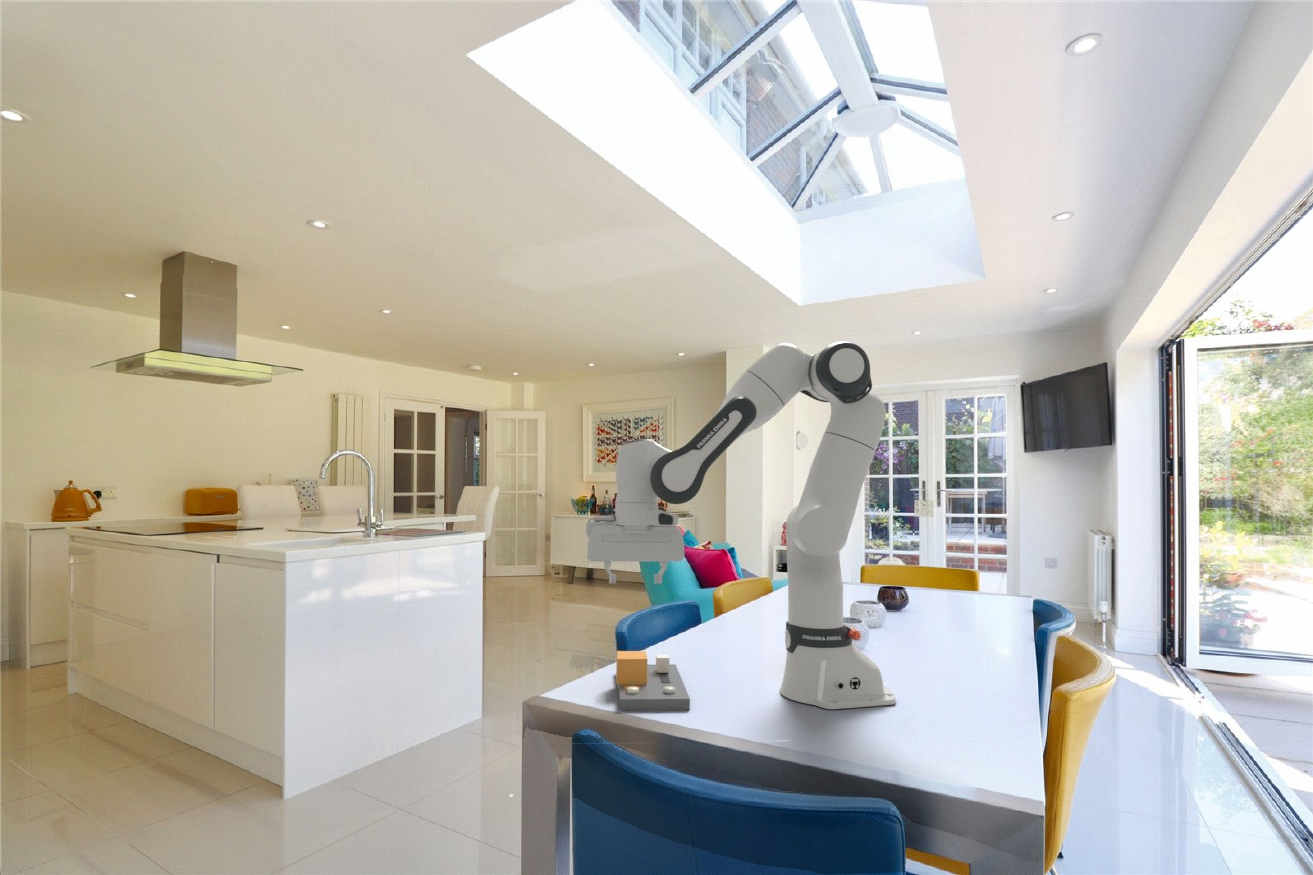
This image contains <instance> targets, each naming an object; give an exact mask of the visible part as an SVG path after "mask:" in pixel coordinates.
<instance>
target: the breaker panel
mask: <svg viewBox="0 0 1313 875" xmlns="http://www.w3.org/2000/svg"><path fill="white" fill-rule="evenodd" d="M617 691H618V702H619V711H690V710H691V709H690V708H691V698H690V695H689V694H688V691H687V689H686V686H685V684H684V681H683V679H682V677H681V674H680V672H679V669H678V666H677V665H676V663H674V664H669V673H657V671H656V664H647V685H617Z"/></svg>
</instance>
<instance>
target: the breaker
mask: <svg viewBox="0 0 1313 875" xmlns="http://www.w3.org/2000/svg"><path fill="white" fill-rule="evenodd" d="M655 665H656V671H657V673H669V665H670V656H669V654H666V653H665V654H658V653H657V654H655Z"/></svg>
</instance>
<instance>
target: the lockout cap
mask: <svg viewBox="0 0 1313 875" xmlns="http://www.w3.org/2000/svg"><path fill="white" fill-rule="evenodd" d="M647 665H648V656H647V652H646V650H616V667H615V668H616V670H615V672H616V673H615V674H616V675H615V676H616V678H615V679H616V685H617V686H618V685H647Z"/></svg>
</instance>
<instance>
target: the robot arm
mask: <svg viewBox="0 0 1313 875" xmlns="http://www.w3.org/2000/svg"><path fill="white" fill-rule="evenodd" d="M871 377H872V376H871V364H870V359H869V357H868V354H867V353H866V351H865V350H864V349H863V348H862V347H861V346H859V345H858V344H855V343H853V342H849V341H838V342H834V343H831V344H829V345H827V346H826V347H824V348H822V349H821V350H820V351H818V352H817V353H814V354H807V353H805V352H804V351H803V350H802V349H801V348H799V347H798V346H796V345H794V344H792V343H786V342H784V343H783V342H781V343H779V344H777V345H775V346H774V347H772V348H771V349H769V350H768V351H767V352H765V353H764V354H763V355H762V356H760V357H759V358H758V359H756V361H754V362H753V363H752V364H751V365H750V366H749V367H748V368H746V370H745V371H744V372H743V373H742V374H741V375H740V377H738V379H737V380H736V382H734V384H733V385H732V387H731V388H730V389H729V391H728V392H727V394H726V396H725V398H724V399H723V401H722V403H721V404H720V407H719V409H718V410H717V412H716V414H714V416H713V417H712V418H711V419H710V420H709V421H708V423H706V424H705V425H704V426H703V427H702V428H701V429H700V430H699V431H698V432H697V433H696V434H695V435H694V437H693V438H691V439H690V440H689V441H688V442H687V443H686V444H685V445H684V446H682V447H680V448H678V449H675V450H673V451H672V450H670V449H668V448H666V447H664V446H662V445H661V444H659V443H658V442H657V441H655V440H654V439H652V438H639V439H634V440H630V441H627V442H625V443H623V444H622V445H621V446H620V447H619V449H618V451H617V452H618V453H617V457H616V466H615V468H616V469H615V484H616V490H617V492H616V493H617V494H616V497H615V501H614V502H615V504H614V505H615V506H614V508H615V509H614V516H613V515H612V516H610V515H607V516H599V515H596V516H593V517H592V518H589V520H587V522H586V524H585V534H586V536H587V537H588V543H587V550H586V552H587V554H586V555H587V556H586V558H587V559H588V560H589V561H590V562H603V567H604V569H605V571H606V573H607V575H608V576H609V578H608V580H609V581H608V583H609V585H612V584H613V585H615V584H617V574H616V573H615V574H613V572H612V571H611V569H610V568H611V567H612V562H659V566H660V567H661V568H660V570H659V572H658V573H657V574H653V576H654V579H653V580H654V581H653V583H654V585H655V584H656V585H657V584H659V585H660V584H662V583H663V575H664V573H665V572H666V570H667V569H668V562H675V563H676V562H682V561H683V560H684V558H685V543H684V537H683V533H682V530H681V529H680V528H679V527H678V524H679V516H677V515H676V514H674V513H671V512H668V511H666V510H664V509H659V508H658V500H659V499H660V500H661V501H663V502H666V503H667V504H671V505H681V504H685V503H688V502H689V501H691V500H693V498H694V497H696V496H697V494H698V493H699V491H700V489H701V487H702V485H703V482H704V480H705V476H706V474H707V472H708V470H709V469H710V468H711V466H712V465H713V464H714V463H715V462H716V460H718V459H719V458H720V457H721V456H722V455H723V453H724V452H725V451H726V450H727V449H729V447H730V446H731V445H732V444H733V443H734V442H736V440H738V439H739V438H740V437H742V436H743V435H744V434H747V433H748V432H751V431H754V430H757V429H758V428H760V427H762V426H763V425H765V424H766V423H768V422H769V421H771V419H772V418H774V417H775V416H776V415H777V414H778V413H779V412H780V411H782V410H783V408H785V406H786V405H788V403H789V402H790V401H791V400H793V398H794V397H795V396H796V395H797V394H799V393H802V394H804V395H805V396H808V397H810V399H811V398H812V399H813V400H815V401H819V402H822V403H829V404H830V416H829V422H828V423H827V425H826V427H825V430H824V433H823V435H822V437H821V440H820V443H819V446H818V448H817V450H816V453H815V455H814V457H813V460H812V463H811V464H810V468H809V471H808V474H807V478H806V481H805V485H804V488H803V491H802V495H801V497H800V500H799V503H798V504H797V505H796V506H795V507H794V508H792V510H790V512H789V514H788V516H787V518H786V520H785V521H786V522H785V540H786V541H785V544H786V545H785V546H786V547H785V549H786V568H787V621H786V622H785V632H784V635H785V636H784V637H785V638H784V643H785V649H786V656H785V657H786V658H785V666H784V672H783V677H782V681H781V684H780V688H779V693H780V695H782V696H783V697H785V698H787V699H789V700H792V701H795V702H798V703H803V704H807V705H812V706H817V707H820V708H822V709H827V710H841V709H853V708H855V709H856V708H863V707H864V708H866V707H878V706H879V707H880V706H889V705H895V704H896V702H897V701H896V696H895V693H894V692H893V691H891V690H890V689H889V688H887V687H886V686H884V681H883V676H882V673H881V669H880V668H879V666H878V665H877V663H876V662H874V661H873V660H872V659H871V658H870V657H869V656H867V655H866V654H865V653H864V652H863V651H862V650H861V649H859V648H857V646H855V645H854V644H853V641H856V642H857V641H860V640H861V639H862V633H861V632H860V631H859V630H857V629H855V628H850V627H848V626H847V625H845V624H844V584H843V583H844V582H843V578H842V570H841V569H842V568H841V560H840V551H842V549H843V548H844V547H845V546H846V543H847V540H848V537H849V533H850V530H851V527H852V524H853V520H854V517H855V514H856V510H857V507H858V503H859V499H860V495H861V491H862V488H863V486H864V483H865V480H866V478H867V474H868V472H869V469H870V466H871V465H872V463H873V459H874V456H875V454H876V452H877V450H878V449H877V448H878V447H879V443H880V441H881V438H882V434H883V430H884V425H885V419H886V414H887V408H886V405H885V403H884V402H883V400H882V399H881V398H879V396H877V395H875V394H873V393H871V390H872V389H873V382H872V378H871Z"/></svg>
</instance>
